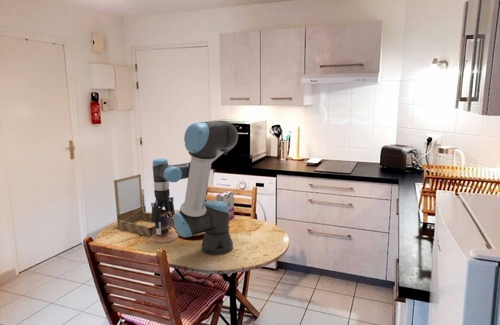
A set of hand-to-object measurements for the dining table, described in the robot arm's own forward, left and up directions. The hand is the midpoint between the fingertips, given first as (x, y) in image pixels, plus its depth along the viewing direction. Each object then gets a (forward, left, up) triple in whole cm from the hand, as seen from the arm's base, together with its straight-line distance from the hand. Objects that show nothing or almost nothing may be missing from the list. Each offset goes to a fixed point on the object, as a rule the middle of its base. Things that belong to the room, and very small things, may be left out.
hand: (164, 231), depth 184 cm
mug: (0, 0, -1) cm, 1 cm away
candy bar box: (-12, -39, -4) cm, 41 cm away
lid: (+33, -6, +4) cm, 33 cm away
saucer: (0, 0, -4) cm, 4 cm away
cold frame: (+20, -6, -4) cm, 21 cm away
